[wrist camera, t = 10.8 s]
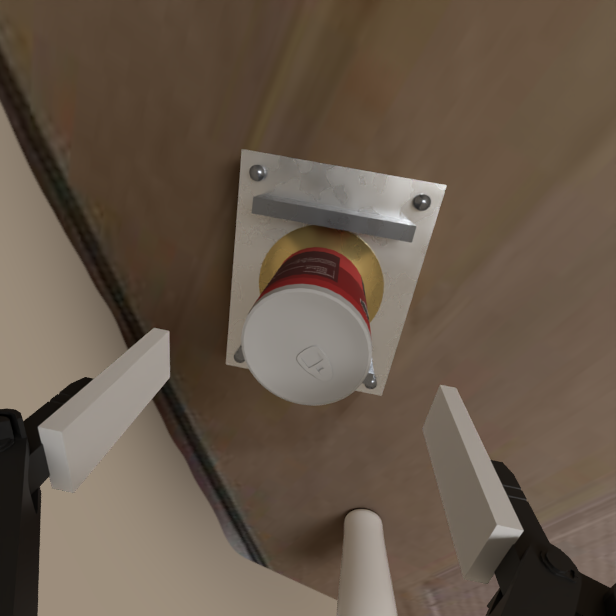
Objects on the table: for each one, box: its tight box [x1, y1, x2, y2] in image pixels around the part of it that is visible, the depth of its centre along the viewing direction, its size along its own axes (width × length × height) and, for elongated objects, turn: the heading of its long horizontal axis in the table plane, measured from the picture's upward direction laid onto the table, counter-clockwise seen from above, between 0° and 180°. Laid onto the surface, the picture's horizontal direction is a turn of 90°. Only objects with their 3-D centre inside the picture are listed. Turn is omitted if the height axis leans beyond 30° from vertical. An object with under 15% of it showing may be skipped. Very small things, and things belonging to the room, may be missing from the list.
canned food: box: [241, 247, 372, 406], centre depth 24 cm, size 8×8×11 cm
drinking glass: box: [337, 509, 398, 616], centre depth 41 cm, size 7×7×15 cm
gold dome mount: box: [226, 149, 447, 396], centre depth 31 cm, size 20×16×8 cm
